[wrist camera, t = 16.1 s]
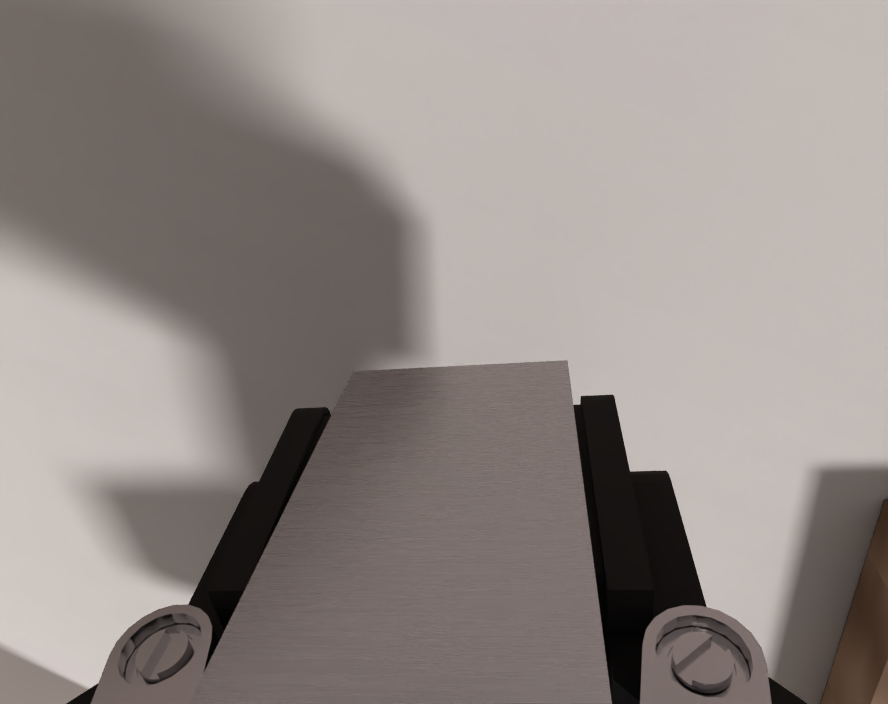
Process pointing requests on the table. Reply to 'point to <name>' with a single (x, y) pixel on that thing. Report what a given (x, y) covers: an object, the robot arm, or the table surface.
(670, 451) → the table surface
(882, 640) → the deck
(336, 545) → the crook
